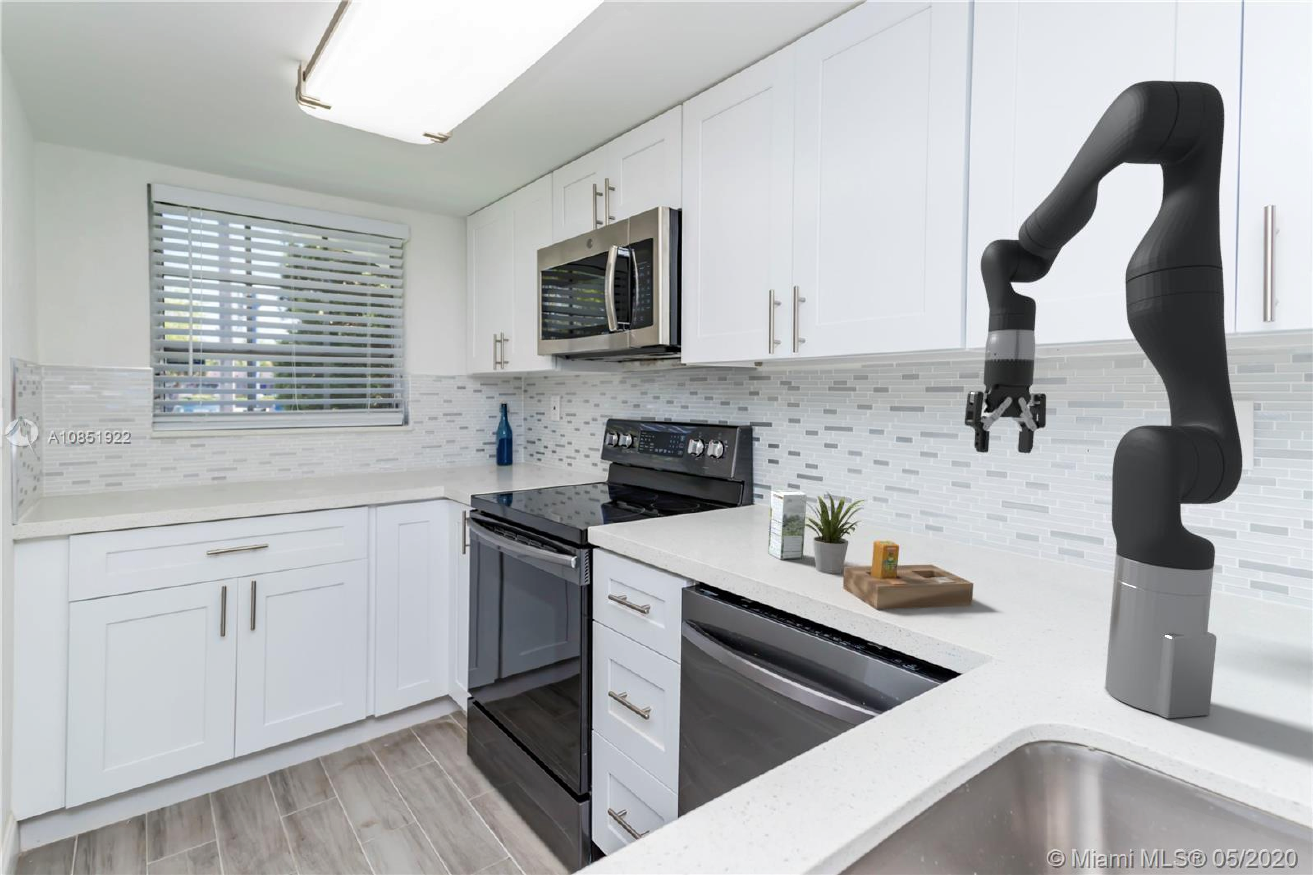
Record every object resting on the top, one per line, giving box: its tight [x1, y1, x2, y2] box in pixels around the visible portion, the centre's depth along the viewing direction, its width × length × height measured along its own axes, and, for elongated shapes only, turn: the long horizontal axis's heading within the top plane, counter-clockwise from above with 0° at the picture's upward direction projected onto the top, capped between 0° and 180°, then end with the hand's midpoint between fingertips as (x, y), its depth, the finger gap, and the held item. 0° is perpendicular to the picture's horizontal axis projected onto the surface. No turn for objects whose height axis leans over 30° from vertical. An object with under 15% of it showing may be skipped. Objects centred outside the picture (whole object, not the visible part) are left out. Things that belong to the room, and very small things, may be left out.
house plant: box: [800, 491, 867, 574], centre depth 131 cm, size 14×14×16 cm
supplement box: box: [871, 540, 900, 580], centre depth 115 cm, size 3×3×10 cm
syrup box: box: [767, 489, 807, 561], centre depth 142 cm, size 6×6×14 cm
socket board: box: [842, 564, 974, 611], centre depth 116 cm, size 12×18×4 cm, turn 101°
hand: (1003, 452), depth 112 cm, fingers open, 8 cm apart
